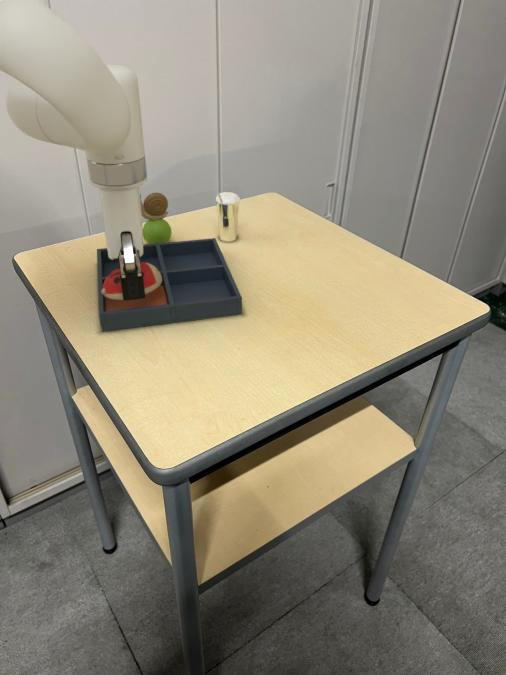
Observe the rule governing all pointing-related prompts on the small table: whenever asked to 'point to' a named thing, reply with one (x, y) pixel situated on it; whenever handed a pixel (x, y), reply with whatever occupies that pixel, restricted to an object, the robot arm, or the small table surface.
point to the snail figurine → (155, 219)
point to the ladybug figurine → (113, 281)
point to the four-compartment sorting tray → (173, 287)
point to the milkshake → (227, 215)
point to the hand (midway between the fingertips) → (132, 284)
